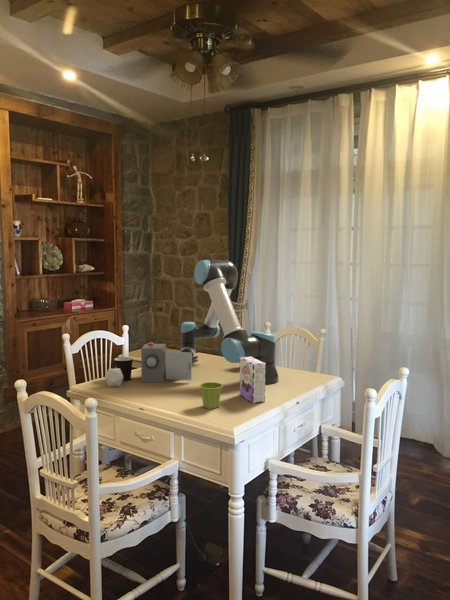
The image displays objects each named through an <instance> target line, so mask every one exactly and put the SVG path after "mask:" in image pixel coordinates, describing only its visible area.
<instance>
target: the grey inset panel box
mask: <svg viewBox="0 0 450 600" xmlns="http://www.w3.org/2000/svg"><path fill="white" fill-rule="evenodd" d="M164 351H167V344H166V343H154V342H151V341H150V342H148V343H144V345H143V346H142V347H141V349H140V355H141V356H140V357H141V368H140V369H141V383H163V382H164V381H165V379H164V359H163V352H164Z"/></svg>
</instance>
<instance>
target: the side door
mask: <svg viewBox="0 0 450 600" xmlns="http://www.w3.org/2000/svg"><path fill="white" fill-rule="evenodd" d="M163 359H164V380H175V381H177V380H179V381H192V373H193V371H192V365H193V364H192V352H180V351H167V350H166V351H164V352H163Z"/></svg>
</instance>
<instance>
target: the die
mask: <svg viewBox="0 0 450 600" xmlns="http://www.w3.org/2000/svg"><path fill="white" fill-rule="evenodd" d="M104 378H105V382H106V384H107V387H109V388H115V387H121V385H122V383H123V382H124V381H123V378H124V377H123V374H122V372H121V370H120V368H108V369H107V371H106V374H105V375H104Z"/></svg>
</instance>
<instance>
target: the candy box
mask: <svg viewBox="0 0 450 600" xmlns="http://www.w3.org/2000/svg"><path fill="white" fill-rule="evenodd" d="M265 367H266V363H263V362H261V361H259V360H257V359H255V358H253V357H241V358H240V363H239V396H240V397H242V398H244V399H245V400H247V401H248V402H250V403H251V404H260V403H262V402H263V403H266V402H265V400H266V384H265Z"/></svg>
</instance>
